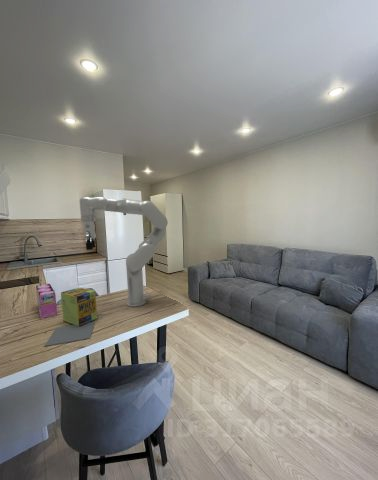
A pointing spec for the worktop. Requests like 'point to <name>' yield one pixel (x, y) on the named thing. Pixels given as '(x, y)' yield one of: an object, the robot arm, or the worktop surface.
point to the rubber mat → (70, 334)
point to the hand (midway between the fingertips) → (90, 248)
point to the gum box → (46, 300)
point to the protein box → (79, 306)
